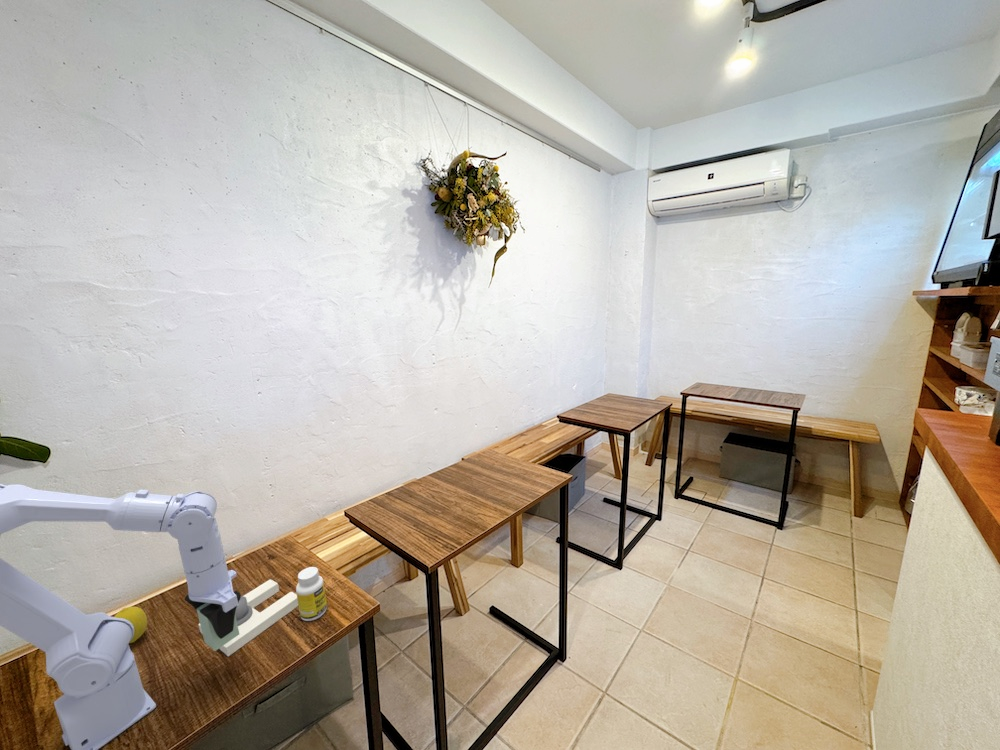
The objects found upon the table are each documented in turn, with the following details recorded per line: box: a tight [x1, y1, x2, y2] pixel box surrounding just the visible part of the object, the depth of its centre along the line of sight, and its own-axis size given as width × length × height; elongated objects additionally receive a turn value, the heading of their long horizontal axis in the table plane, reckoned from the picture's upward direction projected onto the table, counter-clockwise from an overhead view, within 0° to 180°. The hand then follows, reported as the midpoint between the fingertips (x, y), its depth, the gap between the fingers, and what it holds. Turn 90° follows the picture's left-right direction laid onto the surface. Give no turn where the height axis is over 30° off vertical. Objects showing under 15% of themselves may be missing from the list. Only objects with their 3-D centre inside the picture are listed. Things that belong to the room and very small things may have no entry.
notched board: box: [197, 578, 299, 657], centre depth 85 cm, size 15×12×6 cm
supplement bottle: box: [295, 566, 328, 622], centre depth 85 cm, size 5×5×10 cm
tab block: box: [196, 603, 239, 652], centre depth 70 cm, size 4×4×7 cm
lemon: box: [113, 606, 148, 644], centre depth 80 cm, size 6×6×8 cm
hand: (220, 629), depth 71 cm, fingers closed on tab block, 4 cm apart
